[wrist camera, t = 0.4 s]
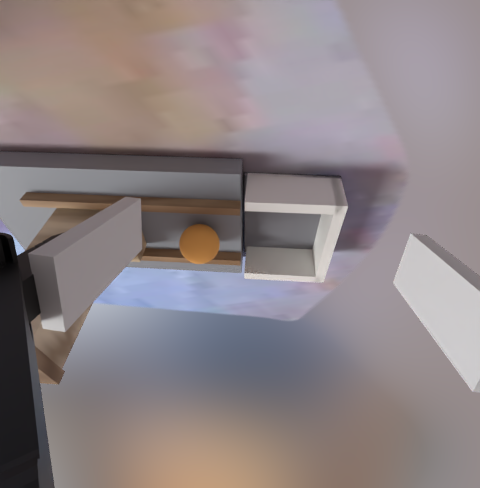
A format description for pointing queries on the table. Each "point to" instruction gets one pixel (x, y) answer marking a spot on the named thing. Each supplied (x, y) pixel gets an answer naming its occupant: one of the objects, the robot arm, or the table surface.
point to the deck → (127, 194)
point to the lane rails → (146, 206)
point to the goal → (292, 225)
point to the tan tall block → (60, 343)
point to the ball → (199, 244)
